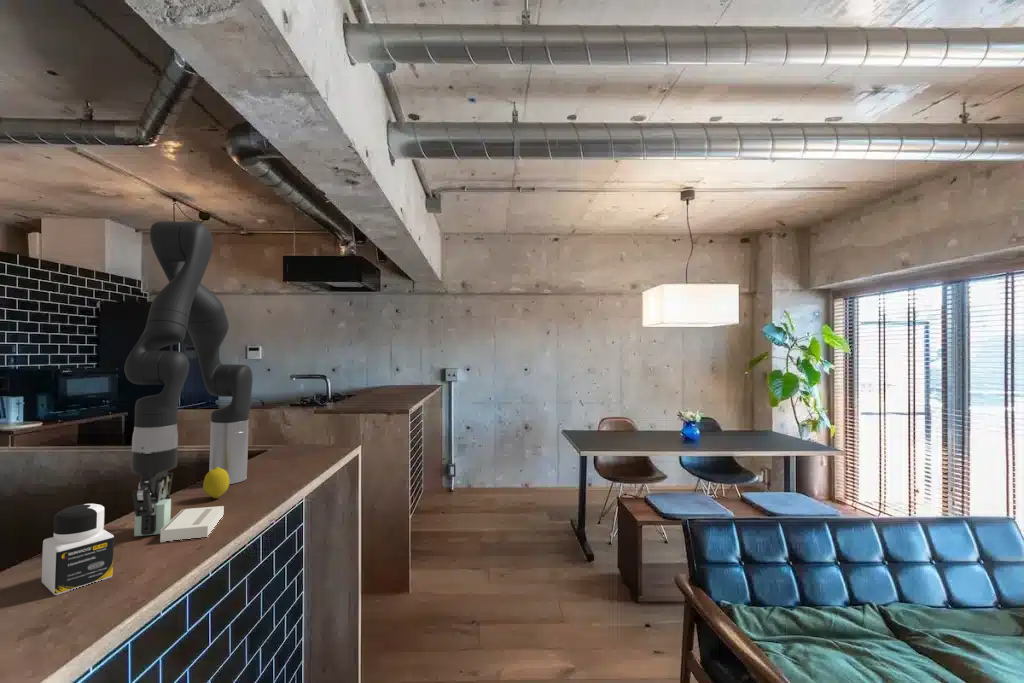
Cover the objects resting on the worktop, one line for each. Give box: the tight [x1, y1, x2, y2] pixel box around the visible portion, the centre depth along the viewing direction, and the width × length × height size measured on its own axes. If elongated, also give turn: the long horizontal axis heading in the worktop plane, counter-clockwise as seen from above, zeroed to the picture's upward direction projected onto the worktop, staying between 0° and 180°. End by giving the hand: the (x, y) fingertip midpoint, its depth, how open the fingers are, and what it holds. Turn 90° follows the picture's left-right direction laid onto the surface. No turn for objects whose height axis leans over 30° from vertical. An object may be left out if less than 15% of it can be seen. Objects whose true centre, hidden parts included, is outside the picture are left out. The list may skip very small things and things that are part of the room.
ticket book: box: [159, 505, 225, 543], centre depth 97 cm, size 12×8×2 cm, turn 19°
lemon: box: [202, 467, 230, 499], centre depth 115 cm, size 6×6×8 cm
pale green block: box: [133, 498, 172, 537], centre depth 94 cm, size 4×5×6 cm
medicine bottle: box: [41, 503, 115, 596], centre depth 75 cm, size 7×7×12 cm
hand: (152, 529), depth 94 cm, fingers closed on pale green block, 3 cm apart
